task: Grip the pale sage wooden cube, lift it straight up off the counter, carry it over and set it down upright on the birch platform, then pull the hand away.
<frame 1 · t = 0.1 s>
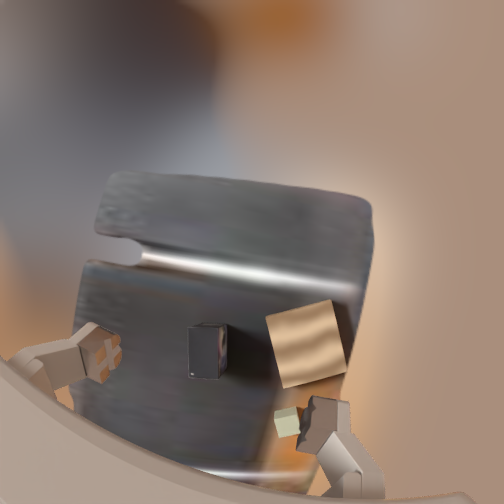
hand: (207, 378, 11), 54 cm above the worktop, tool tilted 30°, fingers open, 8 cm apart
birch platform: (306, 342, 62), on the worktop
small box: (214, 345, 64), on the worktop
sage cube: (287, 417, 60), on the worktop
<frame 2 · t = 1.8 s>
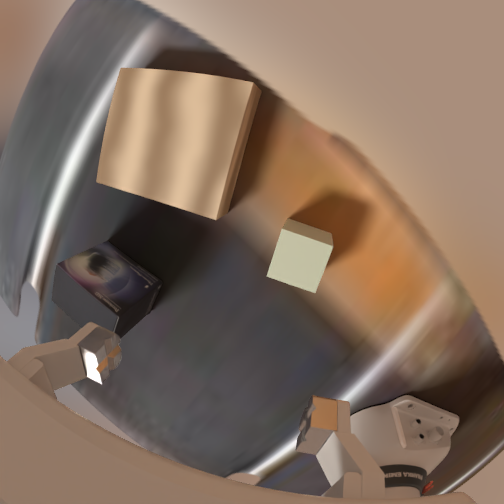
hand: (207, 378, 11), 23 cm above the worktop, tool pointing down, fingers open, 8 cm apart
birch platform: (179, 136, 31), on the worktop
small box: (129, 275, 39), on the worktop
sage cube: (302, 246, 32), on the worktop
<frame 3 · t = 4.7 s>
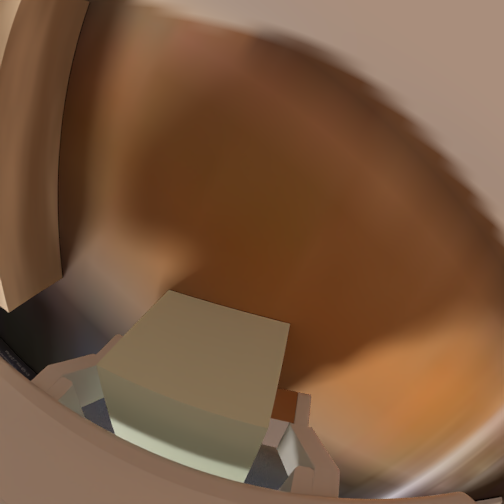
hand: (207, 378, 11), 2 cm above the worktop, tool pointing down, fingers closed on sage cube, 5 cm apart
small box: (9, 357, 20), on the worktop
sage cube: (219, 354, 12), on the worktop, touching gripper
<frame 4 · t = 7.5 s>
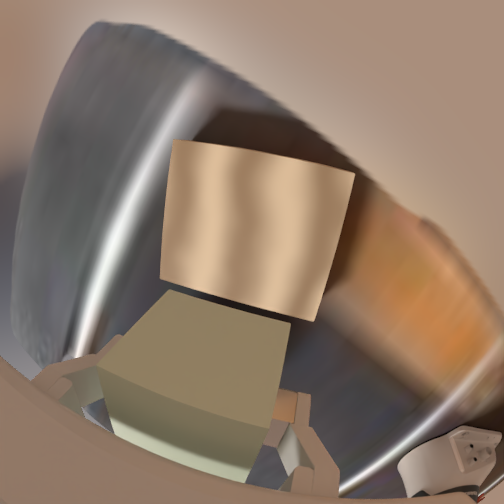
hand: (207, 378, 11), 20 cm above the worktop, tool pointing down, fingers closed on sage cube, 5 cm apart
birch platform: (254, 221, 30), on the worktop
sage cube: (220, 353, 12), point 19 cm above the worktop, touching gripper
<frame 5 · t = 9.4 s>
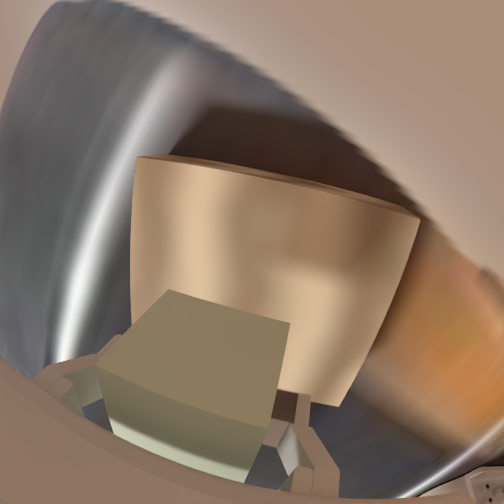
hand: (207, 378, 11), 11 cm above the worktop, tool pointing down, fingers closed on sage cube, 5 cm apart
birch platform: (260, 273, 21), on the worktop
sage cube: (219, 353, 12), point 9 cm above the worktop, touching gripper
when the fingers open (7 cm above the worktop, at t = 10.6 s): sage cube drops 1 cm, resting on birch platform.
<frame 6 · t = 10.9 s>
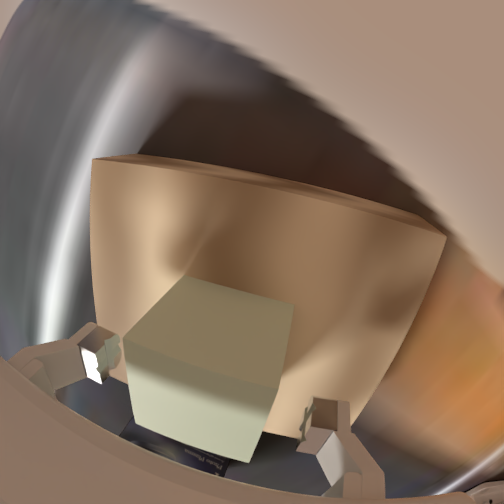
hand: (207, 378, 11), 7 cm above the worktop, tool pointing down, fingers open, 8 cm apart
birch platform: (247, 295, 17), on the worktop
small box: (179, 441, 25), on the worktop
sage cube: (229, 334, 14), point 4 cm above the worktop, touching birch platform
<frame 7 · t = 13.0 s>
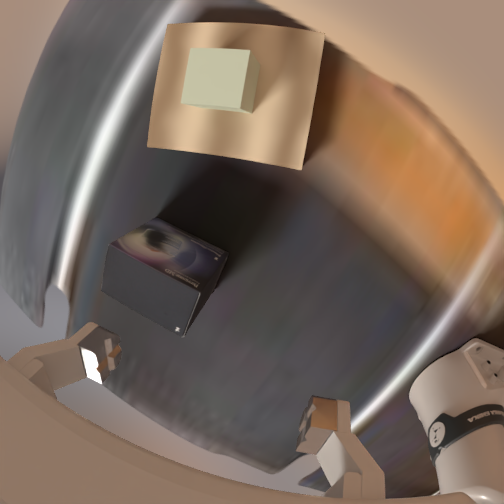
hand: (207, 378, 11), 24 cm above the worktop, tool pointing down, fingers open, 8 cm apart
birch platform: (239, 91, 28), on the worktop
small box: (185, 252, 37), on the worktop
sage cube: (230, 86, 25), point 4 cm above the worktop, touching birch platform
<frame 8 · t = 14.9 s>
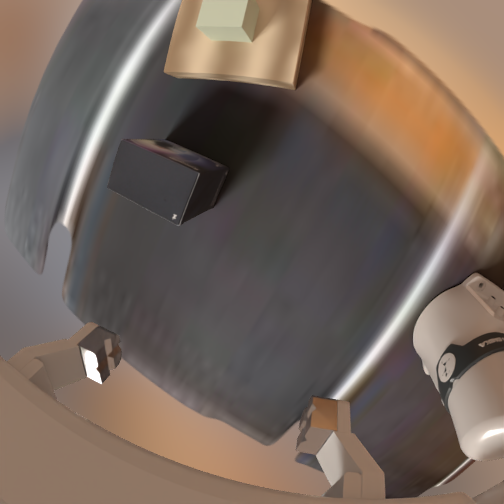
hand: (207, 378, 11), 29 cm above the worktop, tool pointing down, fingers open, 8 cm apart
birch platform: (242, 34, 30), on the worktop
small box: (189, 171, 39), on the worktop
sage cube: (235, 24, 27), point 4 cm above the worktop, touching birch platform
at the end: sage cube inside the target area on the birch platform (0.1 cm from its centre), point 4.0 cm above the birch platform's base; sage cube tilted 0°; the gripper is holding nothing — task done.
